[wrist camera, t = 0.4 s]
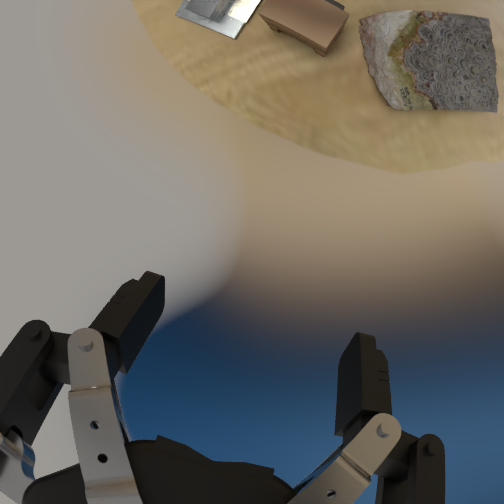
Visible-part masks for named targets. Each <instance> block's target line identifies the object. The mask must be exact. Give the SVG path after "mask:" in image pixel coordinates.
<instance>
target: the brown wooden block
mask: <svg viewBox="0 0 504 504" xmlns="http://www.w3.org/2000/svg"><path fill="white" fill-rule="evenodd" d="M344 7H345V6H343V5H341V4H340V3H338V2H336V1H334V0H266V2H265V3H264V5H263V6H262V8H261V9H260V11H259V12H258V14H259V15H260V16H261V17H262V19H263V20H264V21H265V22H266V23H267V24H268V26H269V27H270V28H271V29H273V30H275V31H277V32H280V30H281V31H283V32H285V33H287V34H289V35H291V36H293V37H295V38H297V39H298V40H300V41H302V42H304V43H306V44H307V45H309V46H311V47H313V48H315V49H316V53H318V54H319V55H321V56H323V57H324V56H325V54H326V53H327V51H328V50H329V48H330V47H331V45H332V44H333V42H334V41H335V39H336V38H337V37H338V35H339V34H340V32H341V31H342V29H343V27H344V25H345V23H346V21H347V19H348V17H349V15H350V14H348V13H346V12H345V11H343V10H344Z"/></svg>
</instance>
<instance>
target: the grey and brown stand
mask: <svg viewBox="0 0 504 504" xmlns="http://www.w3.org/2000/svg"><path fill="white" fill-rule="evenodd" d="M260 1H261V0H183V2H182V4H181V6H180V7H179V9H178V11H177V13H176V14H175V15H176V16H178V17H181V18H184V19H187V20H190V21H192V22H195V23H198V24H200V25H203V26H205V27H208V28H210V29H213V30H215V31H217V32H220V33H222V34H224V35H227V36H229V37H231V38H234V39H237V37H238V35H239V34H240V32H241V31H242V29H243V27H244V26H245V24H246V23H247V21H248V19H249V18H250V16H251V15H252V13H253V12H254V10H255V9H256V7H257V6H258V4H259V3H260Z"/></svg>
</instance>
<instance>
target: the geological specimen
mask: <svg viewBox="0 0 504 504" xmlns="http://www.w3.org/2000/svg"><path fill="white" fill-rule="evenodd" d="M359 21H360V22H361V26H360V27H358V28H359V33H360V39H361V40H362V44H363V47H364V53H363V57H364V58H365V59H366V60H367V63H368V66H369V70H368V71H369V74H370V76H372V77H373V78H374V79H375V81H376V84H377V87H378V89H379V91H380V92H381V93H382V95H383V97H384V99H386V100H387V105H388V106H392V107H393V108H394V109H397V110H465V111H483V112H496V113H497V104H498V97H499V96H498V90H497V85H496V77H495V76H496V65H497V64H496V61H495V59H496V57H495V50H494V46H493V43H492V33H491V29H490V23H489V19H488V18H482V17H476V16H470V15H462V14H454V13H445V12H431V11H415V10H403V11H391V12H385V13H376V14H374V15H372V16H368V17H366V18H362V19H360V20H359Z"/></svg>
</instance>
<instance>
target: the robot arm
mask: <svg viewBox="0 0 504 504" xmlns="http://www.w3.org/2000/svg"><path fill="white" fill-rule="evenodd" d="M164 305H165V277H164V276H162V275H159V274H156V273H153V272H150V271H146V272H145V273H144V274H143V275H142V277H141V278H140V279H139V281H137V280H135V279H132V280H129V281H128V282H126V283H124V284H123V285H122V286H121V287H120V288H119V289H118V290H117V292H116V293H115V295H114V296H113V297H112V298H111V299H110V302H108V303H107V304H106V306H105V307H104V308H103V310H102V311H101V312H100V313H99V315H98V316H97V317H96V319H95V320H94V321H93V322H92V324H91V325H90V326H89V327H88V328H82V329H78V330H76V331H75V332H73V333H72V334H65V333H58V332H52V331H51V330H50V327H49V325H47V323H46V322H44V321H41V320H32V321H29V322H28V323H26V324H25V325H24V326H23V327H22V328H21V330H20V331H19V332H18V333H17V335H16V336H15V337H14V339H13V340H12V342H11V343H10V344H9V345H8V347H7V348H6V350H5V351H4V352H3V354H2V356H1V357H0V491H1V492H3V493H4V494H5V495H7V496H8V497H9V498H11V499H12V500H14V501H15V502H17V503H18V504H352V503H353V502H354V501H355V500H356V499H357V498H358V497H359V496H360V494H361V493H362V492H363V491H364V490H365V489H366V488H367V486H368V485H369V484H370V482H371V478H370V477H371V476H372V474H373V473H374V474H376V475H378V484H377V492H376V501H375V504H445V450H444V445H443V443H442V441H441V440H440V438H439V437H437V436H436V435H434V434H425V435H423V436H422V437H421V438H418V437H415V436H413V435H411V434H408V433H406V432H404V431H403V430H401V427H400V424H399V422H398V421H397V420H396V419H395V418H394V417H393V416H392V407H391V393H390V383H389V374H388V372H389V371H388V362H387V359H386V357H385V355H384V354H383V351H381V350H377V349H376V341H375V337H374V336H372V335H368V334H364V333H359V332H357V333H355V335H354V336H353V338H352V339H351V341H350V343H349V344H348V346H347V347H346V349H345V350H344V352H343V354H342V355H341V358H340V360H339V365H338V382H337V404H336V420H335V433H334V435H336V436H342V437H343V443H342V444H341V445H340V446H339V447H338V448H337V449H336V450H335V451H334V452H333V453H332V454H331V455H330V456H329V457H328V458H327V459H326V460H324V461H323V462H322V463H321V464H320V465H319V466H318V467H317V468H316V469H315V470H314V471H313V472H312V473H310V474H309V475H308V476H307V477H305V478H304V479H303V480H301V481H300V482H299V483H298V484H296V485H295V486H294V487H293V488H291V486H290V485H288V484H287V483H286V482H285V481H283V480H282V479H280V478H279V477H277V476H275V475H273V473H274V469H273V468H269V467H264V466H259V465H255V464H250V463H246V462H219V461H218V462H217V461H213V460H210V459H209V458H207V457H205V456H203V455H202V454H200V453H198V452H197V451H195V450H193V449H191V448H190V447H188V446H187V445H185V444H182V443H178V442H176V441H173V440H170V439H168V438H165V437H162V436H160V435H158V436H157V438H156V440H135V441H130V438H129V435H128V431H127V428H126V425H125V422H124V419H123V415H122V411H121V407H120V403H119V398H118V394H117V389H116V385H115V380H114V378H115V376H116V374H117V372H118V371H120V372H122V373H124V374H127V373H128V371H129V369H130V368H131V366H132V364H133V362H134V361H135V359H136V357H137V356H138V354H139V352H140V350H141V349H142V347H143V345H144V343H145V342H146V340H147V338H148V337H149V335H150V333H151V332H152V330H153V328H154V327H155V325H156V323H157V322H158V320H159V318H160V317H161V315H162V312H163V309H164ZM64 384H70V385H71V391H69V394H68V399H69V407H70V414H71V421H72V427H73V433H74V439H75V444H76V449H77V453H78V458H79V463H78V464H76V465H73V466H71V467H68V468H65V469H63V470H60V471H57V472H55V473H52V474H50V475H47V476H44V477H41V478H38V479H36V480H35V477H34V473H33V468H34V464H35V454H34V451H33V449H32V448H31V445H32V443H33V441H34V439H35V437H36V435H37V433H38V431H39V429H40V427H41V425H42V423H43V421H44V420H45V418H46V416H47V414H48V412H49V410H50V408H51V406H52V405H53V403H54V401H55V399H56V397H57V396H58V394H59V392H60V390H61V388H62V387H63V385H64Z"/></svg>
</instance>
